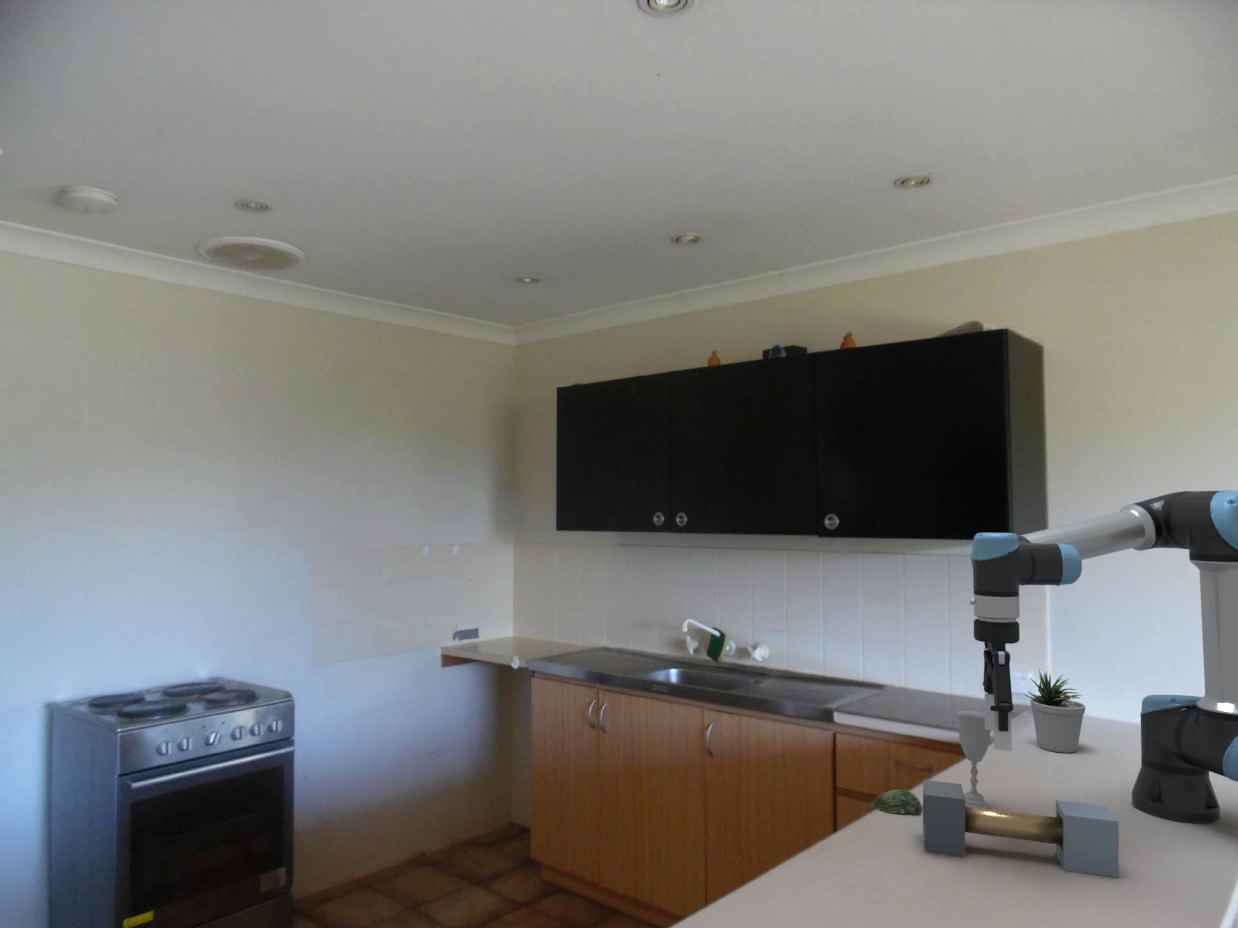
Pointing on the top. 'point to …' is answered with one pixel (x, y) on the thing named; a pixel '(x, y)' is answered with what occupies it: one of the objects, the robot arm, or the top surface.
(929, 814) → the socket
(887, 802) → the seashell
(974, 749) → the chalice
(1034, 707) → the potted plant
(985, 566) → the robot arm
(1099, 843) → the blue-grey cube-like block
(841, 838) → the top surface
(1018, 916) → the top surface
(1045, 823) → the slip tube
